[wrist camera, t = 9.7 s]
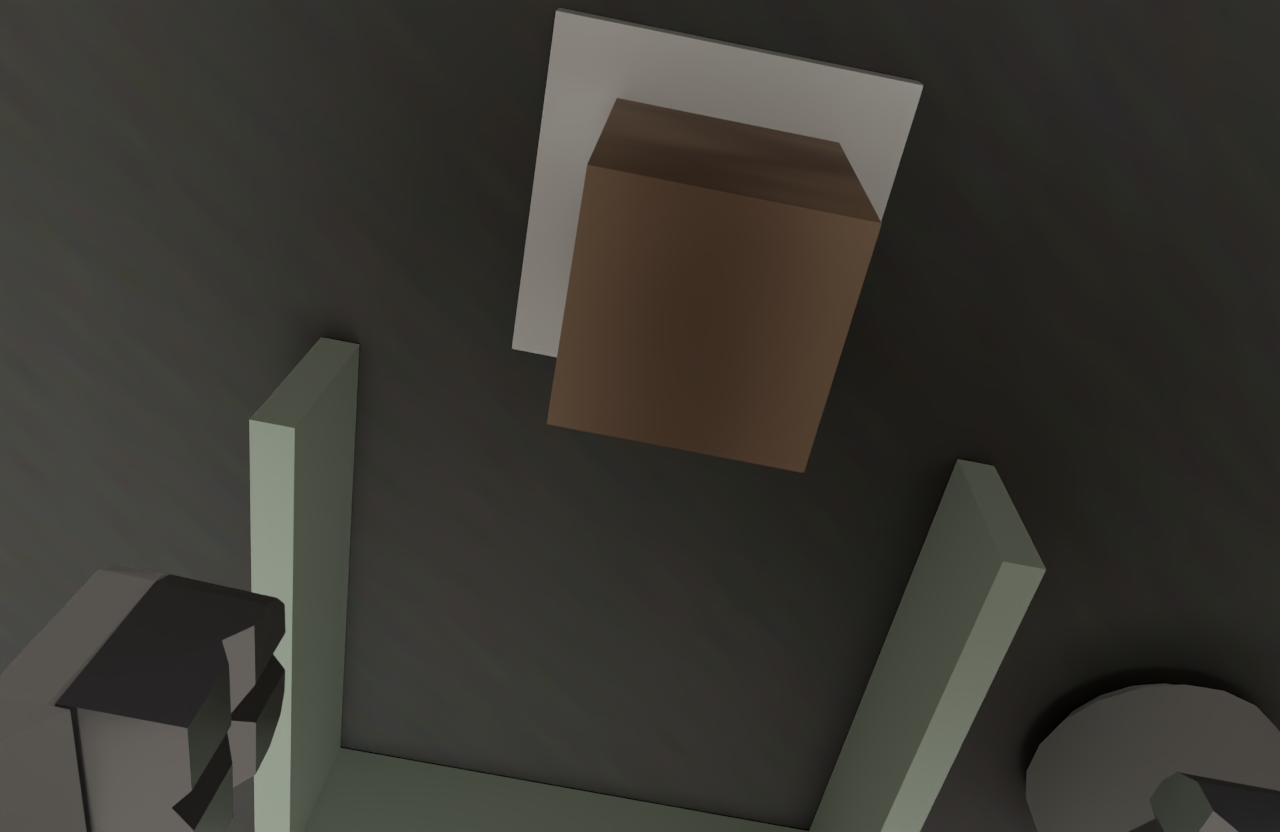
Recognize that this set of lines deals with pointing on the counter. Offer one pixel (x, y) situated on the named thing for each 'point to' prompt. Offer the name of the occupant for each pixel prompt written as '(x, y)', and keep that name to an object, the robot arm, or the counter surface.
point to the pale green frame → (567, 818)
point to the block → (710, 285)
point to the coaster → (692, 82)
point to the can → (1145, 754)
